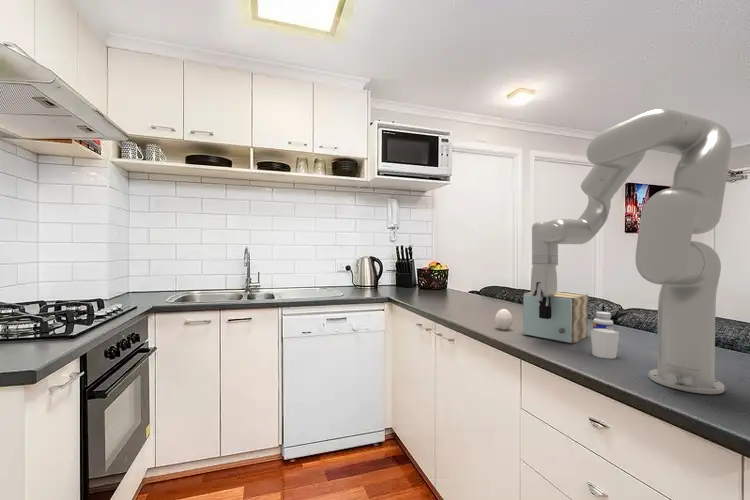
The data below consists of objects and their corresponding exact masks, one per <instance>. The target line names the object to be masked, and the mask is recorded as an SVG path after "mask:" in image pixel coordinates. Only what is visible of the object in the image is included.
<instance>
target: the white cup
mask: <svg viewBox="0 0 750 500" xmlns="http://www.w3.org/2000/svg"><path fill="white" fill-rule="evenodd" d="M589 331H590V340H591V352H592V355H593V356H595V357H598V358H603V359H611V360H612V359H617V356H618V355H617V353H618V346H619V338H620V337H619V336H620V332H619V331H617V330H614V329H613V330H610V329H603V328H593V327H592V328H590V330H589Z"/></svg>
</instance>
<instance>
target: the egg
mask: <svg viewBox="0 0 750 500" xmlns="http://www.w3.org/2000/svg"><path fill="white" fill-rule="evenodd" d="M494 318H495V319H494V321H495V325H496V326H497V328H498V329H500V330H505V331H506V330H509V329H510V328H511V327H512V326H513V324H514V323H513V322H514V321H513V320H514V319H513V315H512V313H511V312H510V311H509V310H508V309H506V308H502V309H500V310H497V313H496V314H495V317H494Z"/></svg>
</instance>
